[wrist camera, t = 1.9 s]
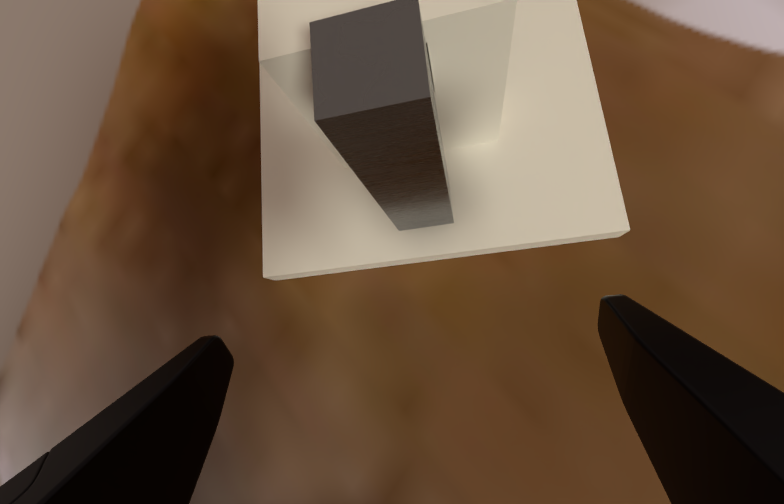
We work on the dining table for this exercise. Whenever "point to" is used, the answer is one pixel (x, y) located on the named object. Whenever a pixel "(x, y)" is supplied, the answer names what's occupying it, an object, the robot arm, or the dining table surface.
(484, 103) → the white mounting stand
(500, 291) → the dining table surface
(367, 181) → the grey block
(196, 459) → the robot arm
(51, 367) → the dining table surface
